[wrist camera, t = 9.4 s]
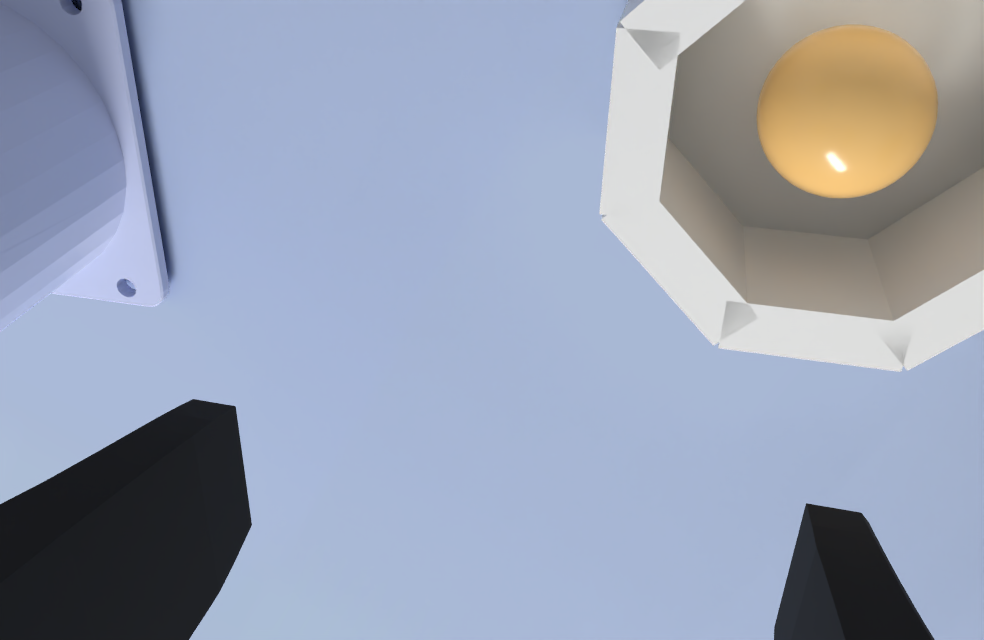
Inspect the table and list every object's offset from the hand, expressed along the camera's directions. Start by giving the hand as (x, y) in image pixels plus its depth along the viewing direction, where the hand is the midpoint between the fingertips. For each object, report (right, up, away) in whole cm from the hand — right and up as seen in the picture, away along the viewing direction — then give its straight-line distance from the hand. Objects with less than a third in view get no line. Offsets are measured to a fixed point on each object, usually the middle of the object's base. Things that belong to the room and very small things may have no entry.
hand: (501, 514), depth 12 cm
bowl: (+7, +7, +7) cm, 12 cm away
